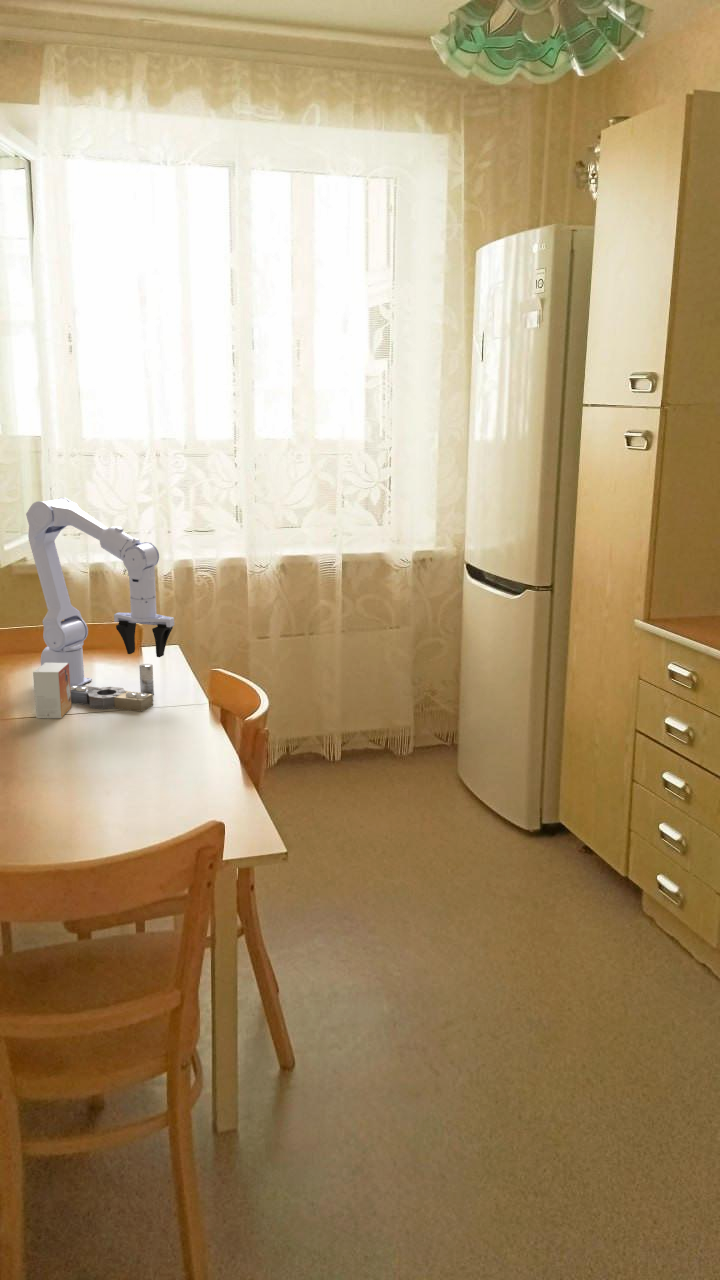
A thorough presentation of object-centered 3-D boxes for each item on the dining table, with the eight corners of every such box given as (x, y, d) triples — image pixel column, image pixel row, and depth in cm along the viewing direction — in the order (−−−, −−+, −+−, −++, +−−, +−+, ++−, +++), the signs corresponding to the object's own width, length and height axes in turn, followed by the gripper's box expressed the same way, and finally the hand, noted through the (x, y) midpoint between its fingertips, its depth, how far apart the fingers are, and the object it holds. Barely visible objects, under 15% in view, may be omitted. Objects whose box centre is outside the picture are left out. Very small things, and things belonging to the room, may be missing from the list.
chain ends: (57, 703, 230) (56, 690, 229) (78, 693, 237) (77, 681, 237) (137, 713, 223) (137, 700, 223) (156, 703, 231) (156, 690, 230)
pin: (138, 695, 236) (136, 666, 234) (145, 692, 239) (143, 663, 237) (149, 697, 235) (148, 667, 233) (156, 693, 238) (155, 664, 236)
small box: (61, 719, 219) (58, 672, 217) (35, 718, 220) (32, 671, 217) (72, 707, 227) (69, 662, 225) (47, 707, 227) (44, 661, 225)
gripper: (105, 597, 230) (108, 655, 233) (162, 602, 225) (164, 661, 229) (122, 591, 236) (125, 648, 240) (178, 596, 232) (180, 654, 235)
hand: (145, 654), depth 235 cm, fingers open, 7 cm apart
